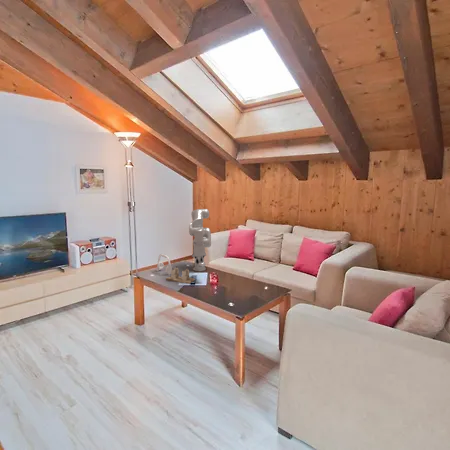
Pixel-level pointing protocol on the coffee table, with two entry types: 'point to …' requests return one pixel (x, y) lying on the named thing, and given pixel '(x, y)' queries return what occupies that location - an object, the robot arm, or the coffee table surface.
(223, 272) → the coffee table surface
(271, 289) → the coffee table surface
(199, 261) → the spanner
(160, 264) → the headset
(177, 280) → the rack
